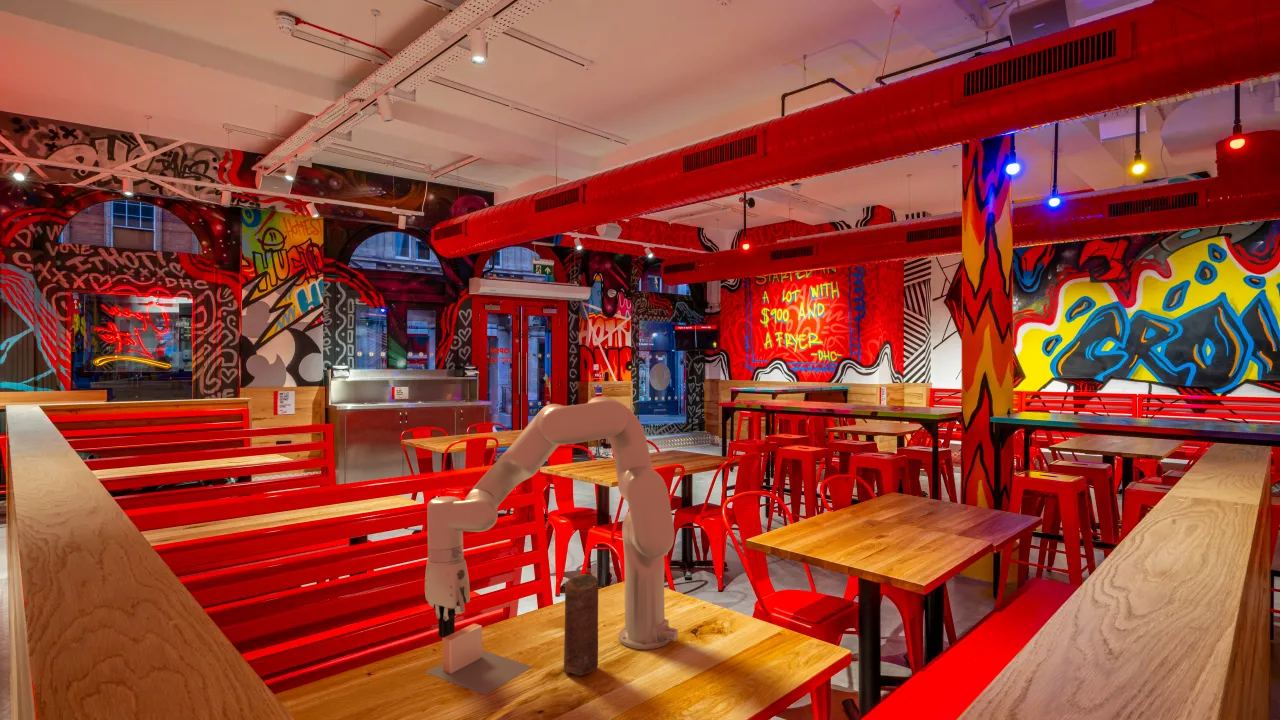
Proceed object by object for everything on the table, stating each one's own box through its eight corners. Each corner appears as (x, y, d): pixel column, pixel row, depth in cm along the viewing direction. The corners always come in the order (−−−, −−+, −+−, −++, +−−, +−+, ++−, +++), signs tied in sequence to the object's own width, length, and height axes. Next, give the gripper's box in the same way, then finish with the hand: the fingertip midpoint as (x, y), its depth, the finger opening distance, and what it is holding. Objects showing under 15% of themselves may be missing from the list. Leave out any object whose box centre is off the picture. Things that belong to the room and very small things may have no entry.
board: (532, 671, 144) (532, 666, 144) (485, 700, 133) (485, 695, 133) (474, 651, 154) (473, 647, 154) (424, 676, 142) (424, 672, 142)
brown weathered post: (605, 669, 145) (604, 577, 145) (584, 683, 139) (583, 587, 139) (578, 660, 149) (577, 571, 149) (556, 673, 143) (555, 580, 143)
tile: (482, 656, 149) (481, 625, 149) (450, 673, 142) (450, 640, 142) (474, 654, 151) (473, 623, 150) (442, 670, 143) (442, 638, 143)
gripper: (481, 554, 148) (483, 636, 148) (436, 544, 156) (437, 622, 156) (455, 563, 141) (456, 649, 142) (409, 552, 149) (410, 634, 150)
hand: (446, 635), depth 149 cm, fingers closed
